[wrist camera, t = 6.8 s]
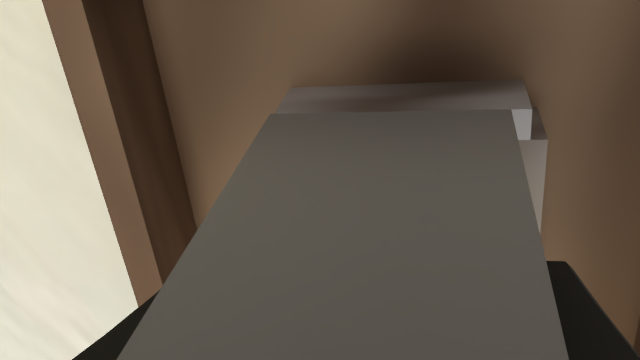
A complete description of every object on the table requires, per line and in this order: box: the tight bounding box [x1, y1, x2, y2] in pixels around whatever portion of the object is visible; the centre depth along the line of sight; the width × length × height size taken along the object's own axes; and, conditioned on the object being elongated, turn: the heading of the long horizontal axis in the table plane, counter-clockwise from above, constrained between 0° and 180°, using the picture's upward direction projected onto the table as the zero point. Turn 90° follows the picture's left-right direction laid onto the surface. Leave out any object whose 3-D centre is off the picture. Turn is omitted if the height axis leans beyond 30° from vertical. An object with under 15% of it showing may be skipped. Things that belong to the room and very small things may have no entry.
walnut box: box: [42, 0, 640, 355], centre depth 17 cm, size 16×16×4 cm
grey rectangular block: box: [117, 109, 569, 360], centre depth 8 cm, size 4×4×7 cm
